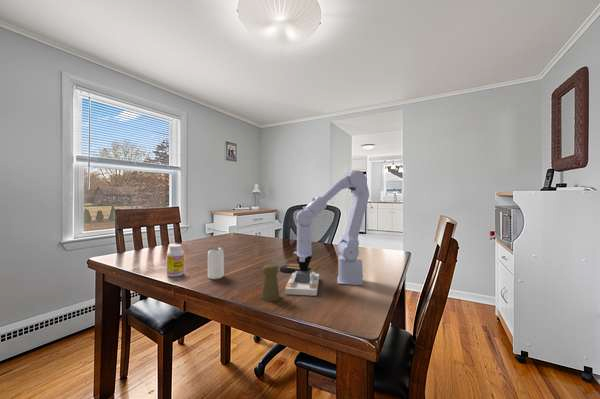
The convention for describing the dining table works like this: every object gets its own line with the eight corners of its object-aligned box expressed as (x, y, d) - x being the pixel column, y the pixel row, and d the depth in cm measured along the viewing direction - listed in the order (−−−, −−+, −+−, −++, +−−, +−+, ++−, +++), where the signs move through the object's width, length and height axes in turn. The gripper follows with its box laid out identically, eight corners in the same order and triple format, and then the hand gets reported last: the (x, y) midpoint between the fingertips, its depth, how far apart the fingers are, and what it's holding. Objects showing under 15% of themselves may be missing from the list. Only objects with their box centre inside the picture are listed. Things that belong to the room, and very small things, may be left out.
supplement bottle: (172, 278, 105) (172, 247, 104) (163, 275, 108) (163, 245, 108) (187, 273, 110) (187, 244, 110) (178, 271, 114) (178, 243, 114)
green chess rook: (271, 302, 80) (271, 268, 80) (257, 298, 83) (257, 265, 83) (283, 296, 85) (282, 264, 85) (269, 292, 88) (269, 261, 88)
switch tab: (310, 279, 96) (310, 271, 96) (309, 282, 92) (309, 274, 92) (297, 278, 97) (297, 270, 97) (296, 281, 93) (296, 273, 93)
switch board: (319, 278, 104) (319, 270, 103) (316, 295, 86) (316, 285, 86) (292, 277, 105) (292, 269, 105) (284, 294, 87) (284, 283, 87)
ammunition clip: (300, 274, 109) (311, 268, 120) (300, 270, 109) (311, 264, 120) (279, 271, 114) (292, 265, 124) (279, 267, 114) (292, 261, 124)
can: (227, 276, 107) (227, 248, 107) (214, 280, 101) (214, 251, 101) (217, 273, 110) (216, 246, 110) (204, 277, 105) (204, 249, 105)
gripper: (296, 237, 106) (296, 269, 106) (291, 244, 91) (291, 281, 91) (313, 238, 105) (313, 270, 105) (310, 244, 90) (310, 282, 90)
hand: (304, 275), depth 98 cm, fingers closed
